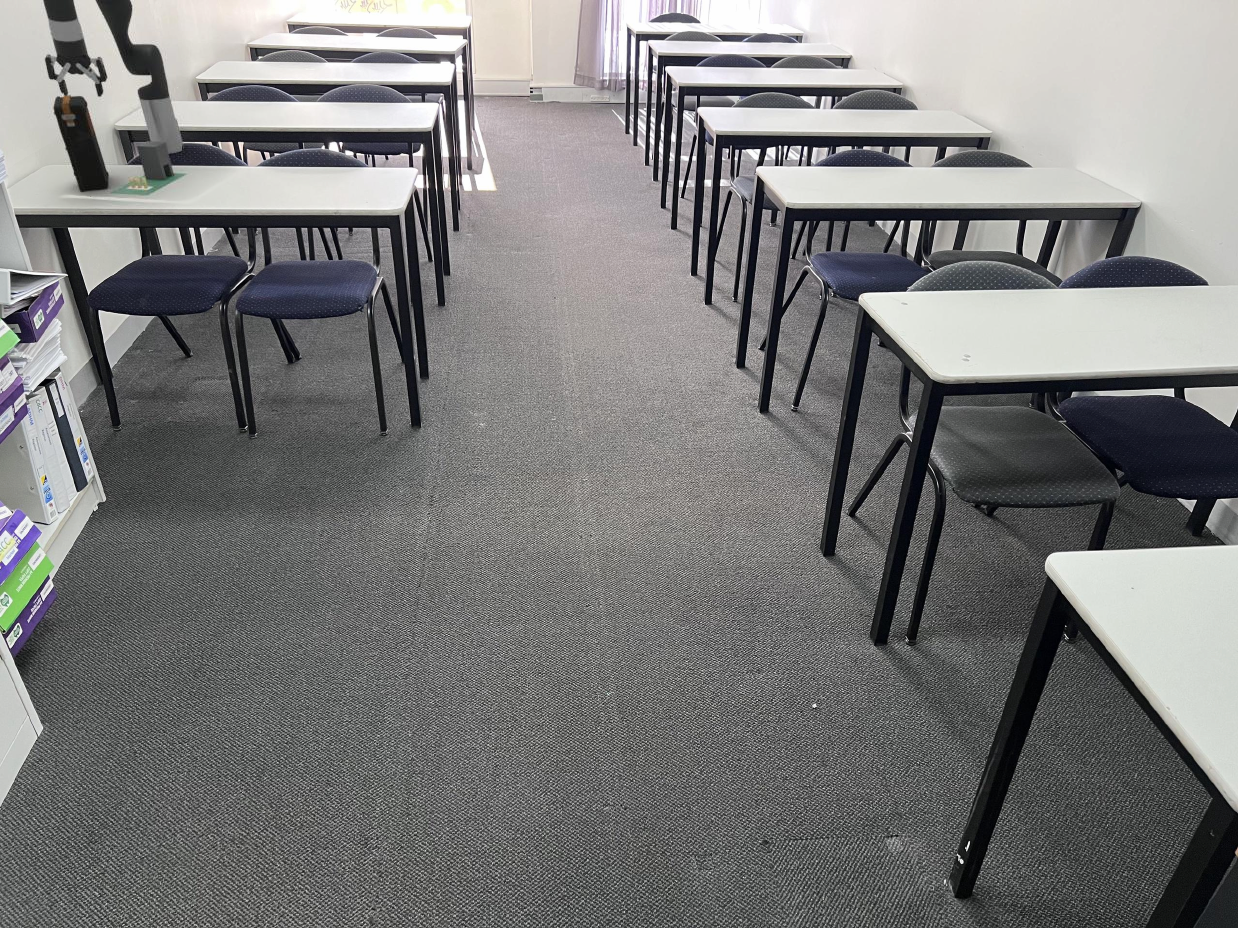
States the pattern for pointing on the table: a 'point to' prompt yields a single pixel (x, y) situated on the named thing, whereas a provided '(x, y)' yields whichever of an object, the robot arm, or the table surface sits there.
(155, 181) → the header board
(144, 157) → the plug housing
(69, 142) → the black bag
